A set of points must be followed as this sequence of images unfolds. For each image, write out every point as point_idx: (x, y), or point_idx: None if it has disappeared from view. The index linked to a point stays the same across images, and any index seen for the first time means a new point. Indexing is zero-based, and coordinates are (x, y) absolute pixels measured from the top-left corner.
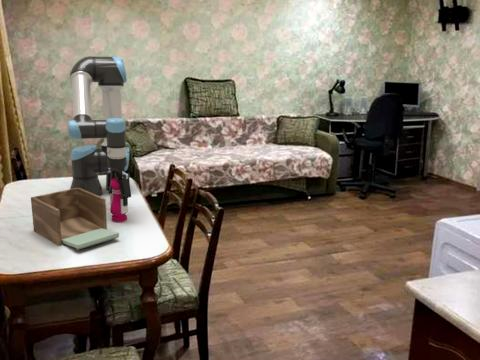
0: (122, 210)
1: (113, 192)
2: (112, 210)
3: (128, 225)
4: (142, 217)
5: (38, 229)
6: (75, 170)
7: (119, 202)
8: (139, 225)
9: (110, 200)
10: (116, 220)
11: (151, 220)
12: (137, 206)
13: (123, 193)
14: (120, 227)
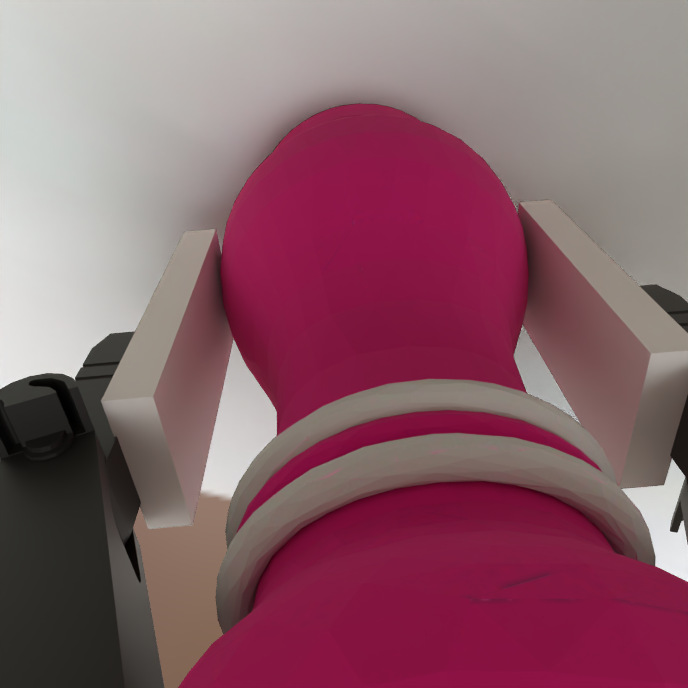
0: (173, 263)
1: (397, 398)
2: (336, 133)
3: (90, 201)
4: (263, 438)
5: None
6: None
7: (264, 328)
8: (29, 306)
9: (599, 266)
10: (291, 136)
11: None
12: None
13: (8, 563)
14: (61, 69)
